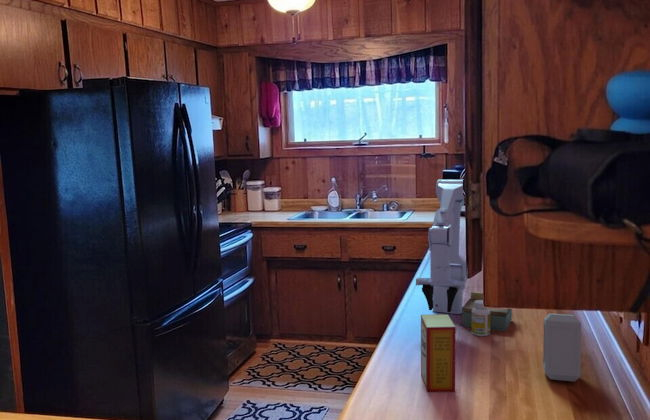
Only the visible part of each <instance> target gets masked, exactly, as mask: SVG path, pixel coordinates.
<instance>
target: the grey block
mask: <svg viewBox="0 0 650 420" xmlns="http://www.w3.org/2000/svg"><path fill="white" fill-rule="evenodd" d="M542 334H543V338H542V339H543V340H542V341H543V342H542V343H543V346H542V349H543V351H542V355H543V356H542V358H543V359H542V363H543V364H542V370H543V371H544V374H545V375H546V376H547V377H548V378H549V379H550V380H554V381H555V380H556V381H565V382H576V381H578V380H579V379H580V378H581V377H582V322H581V321H580V320H579V319H578V317H576V315H573V314H563V313H548V314H546V316H545V317H544V318H543V333H542Z"/></svg>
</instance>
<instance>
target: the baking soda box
mask: <svg viewBox="0 0 650 420" xmlns="http://www.w3.org/2000/svg"><path fill="white" fill-rule="evenodd" d="M420 376H421V379H422V382H423V386H424V388H425V391H426V393H455V392H456V325H455V324H454V322H453V320H452V319H451V318H450V316H449V313H444V314H443V313H442V314H441V313H440V314H439V313H438V314H437V313H435V314H421V315H420Z"/></svg>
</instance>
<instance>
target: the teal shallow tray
mask: <svg viewBox="0 0 650 420" xmlns="http://www.w3.org/2000/svg"><path fill="white" fill-rule="evenodd" d="M512 312H513V308H512V309H510V311H509V312H508V314H507V316H502V315H493V314H490V331H491V330H493V331H499V332H500V331H501V332H506V331H507V330H508V328H509V326H510V324H511V323H512V321H511V320H512V319H513V317H512V316H513V313H512ZM461 316H462V325H461V326H462V327H468V328H472V312H466V311H463V312H462V315H461ZM510 322H511V323H510Z"/></svg>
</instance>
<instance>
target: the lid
mask: <svg viewBox="0 0 650 420" xmlns="http://www.w3.org/2000/svg"><path fill="white" fill-rule="evenodd" d="M476 300H483V293H482V291H474V290H473V291H471V292H470V298H469V299H468V300H467V301H466V302H465V304H464V305H463V307H462V311H466V312H472V309H473V308H475V306H474V301H476ZM488 309H489V310H490V314H493V315H502V316H507V314H508V312H509V311H510V309H492V308H488Z"/></svg>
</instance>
